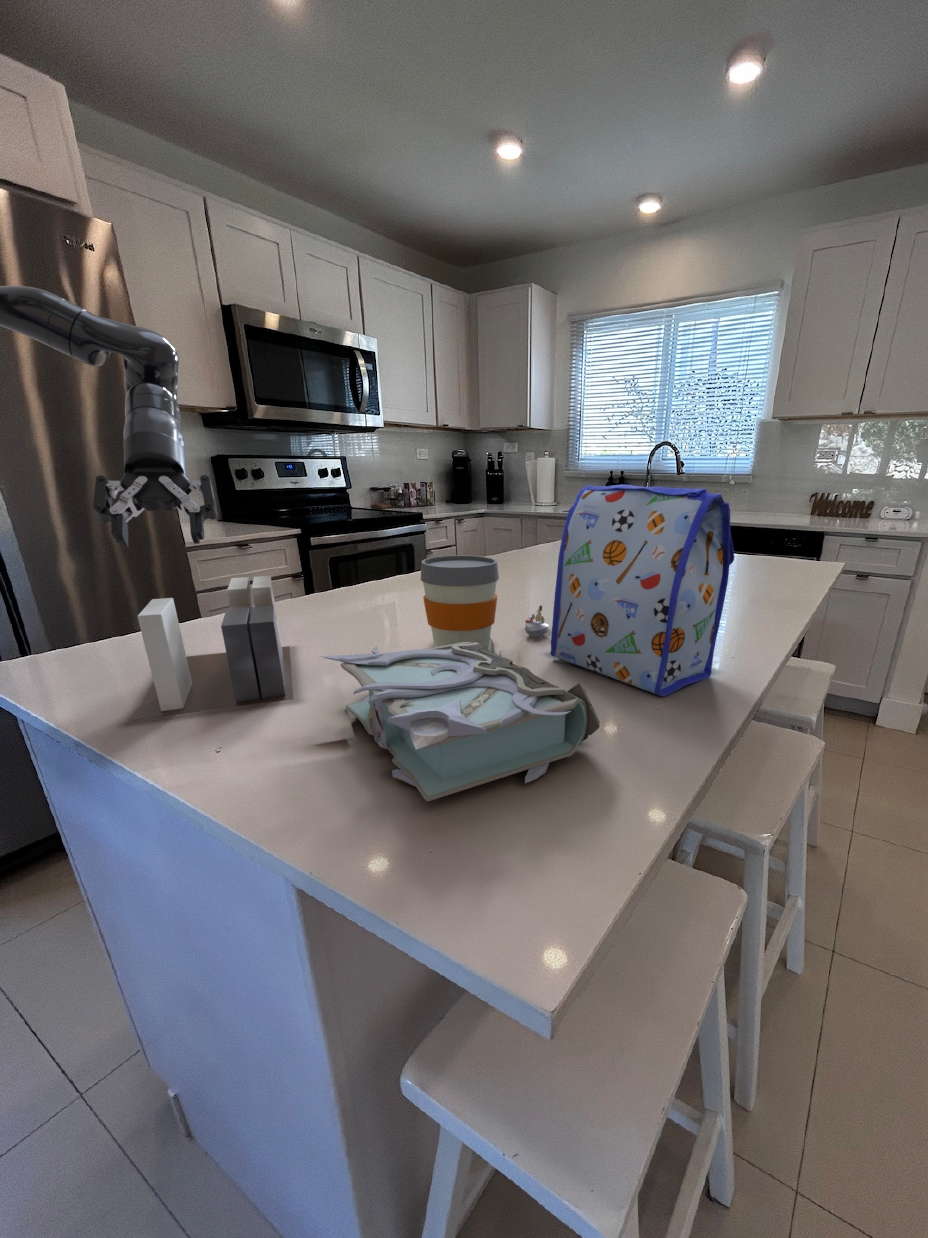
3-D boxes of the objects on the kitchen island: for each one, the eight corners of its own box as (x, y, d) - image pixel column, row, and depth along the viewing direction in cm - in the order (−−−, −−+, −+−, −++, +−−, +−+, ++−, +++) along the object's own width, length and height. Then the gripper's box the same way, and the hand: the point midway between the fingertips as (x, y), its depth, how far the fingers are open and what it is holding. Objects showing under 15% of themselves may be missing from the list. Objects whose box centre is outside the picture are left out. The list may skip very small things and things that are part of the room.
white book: (161, 711, 69) (137, 615, 64) (172, 686, 77) (151, 599, 72) (183, 708, 70) (161, 614, 65) (192, 683, 77) (173, 597, 73)
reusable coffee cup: (409, 653, 94) (402, 562, 88) (456, 636, 104) (453, 552, 98) (468, 668, 87) (466, 570, 82) (513, 647, 97) (514, 559, 92)
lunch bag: (726, 673, 86) (755, 486, 76) (666, 702, 75) (690, 490, 65) (607, 640, 101) (617, 482, 91) (543, 661, 91) (547, 484, 81)
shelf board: (134, 729, 67) (104, 621, 62) (167, 665, 88) (147, 581, 83) (295, 707, 73) (279, 607, 68) (290, 653, 94) (278, 573, 89)
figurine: (539, 642, 100) (540, 609, 98) (518, 638, 102) (518, 606, 100) (553, 635, 104) (554, 603, 102) (533, 631, 106) (533, 600, 104)
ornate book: (609, 769, 61) (475, 676, 84) (618, 687, 57) (474, 613, 80) (414, 838, 49) (320, 708, 72) (408, 742, 46) (311, 637, 69)
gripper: (215, 469, 87) (223, 556, 81) (106, 469, 82) (107, 561, 77) (204, 430, 81) (213, 521, 75) (85, 427, 76) (85, 525, 70)
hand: (159, 541), depth 76 cm, fingers open, 8 cm apart
